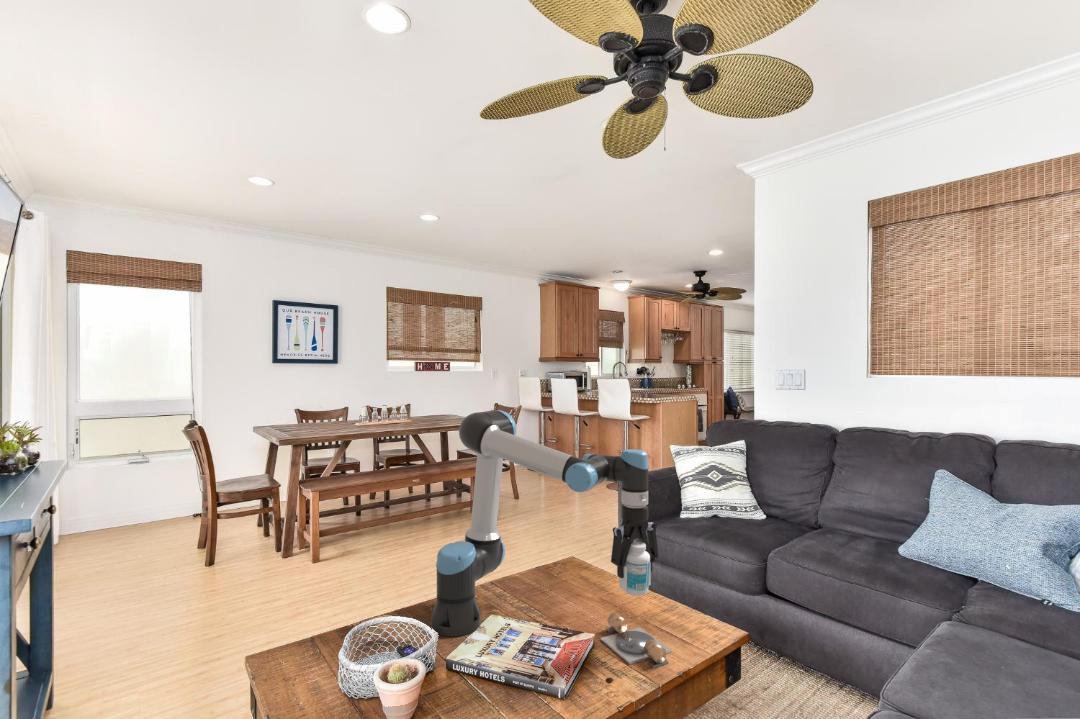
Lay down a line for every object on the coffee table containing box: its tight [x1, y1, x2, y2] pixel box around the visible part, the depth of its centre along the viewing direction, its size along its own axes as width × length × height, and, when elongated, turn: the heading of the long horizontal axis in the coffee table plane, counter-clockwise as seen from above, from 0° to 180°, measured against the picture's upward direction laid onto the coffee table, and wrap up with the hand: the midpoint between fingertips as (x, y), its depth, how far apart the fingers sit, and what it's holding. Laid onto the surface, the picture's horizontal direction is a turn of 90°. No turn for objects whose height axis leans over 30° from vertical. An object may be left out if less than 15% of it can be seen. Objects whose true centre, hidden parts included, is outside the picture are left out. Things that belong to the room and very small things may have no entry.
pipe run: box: [600, 612, 672, 669], centre depth 147 cm, size 22×14×5 cm, turn 26°
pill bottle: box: [624, 540, 650, 597], centre depth 147 cm, size 8×7×14 cm
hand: (635, 586), depth 147 cm, fingers closed on pill bottle, 7 cm apart
